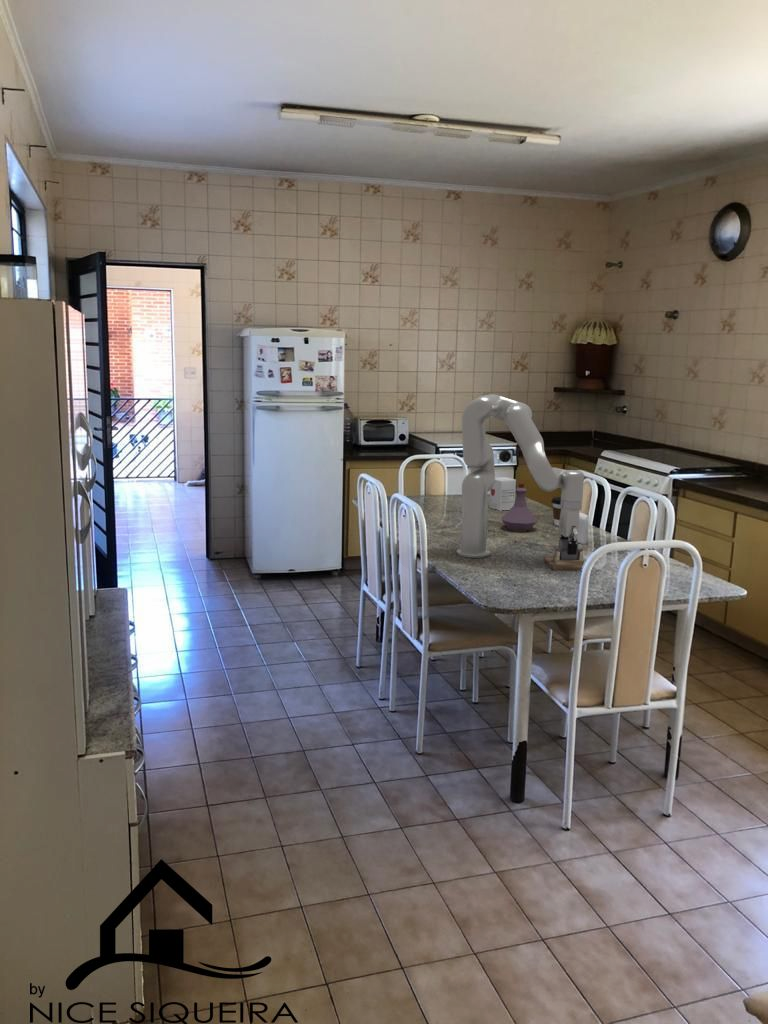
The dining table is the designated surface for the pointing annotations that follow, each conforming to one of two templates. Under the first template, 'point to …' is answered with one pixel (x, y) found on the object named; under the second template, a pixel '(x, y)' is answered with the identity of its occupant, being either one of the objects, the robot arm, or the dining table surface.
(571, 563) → the dock
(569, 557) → the servo block
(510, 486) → the supplement box
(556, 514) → the coffee cup
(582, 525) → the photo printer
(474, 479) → the robot arm
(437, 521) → the dining table surface
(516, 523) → the flask
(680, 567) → the dining table surface
